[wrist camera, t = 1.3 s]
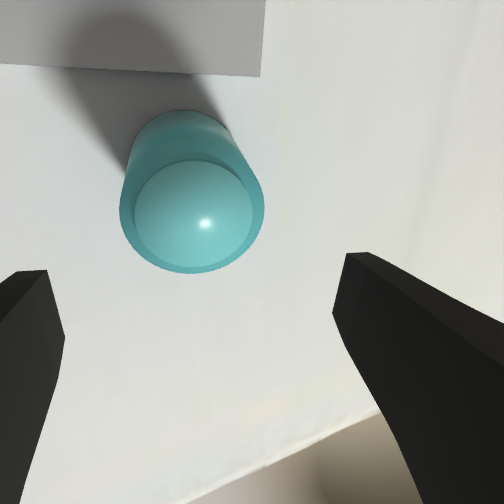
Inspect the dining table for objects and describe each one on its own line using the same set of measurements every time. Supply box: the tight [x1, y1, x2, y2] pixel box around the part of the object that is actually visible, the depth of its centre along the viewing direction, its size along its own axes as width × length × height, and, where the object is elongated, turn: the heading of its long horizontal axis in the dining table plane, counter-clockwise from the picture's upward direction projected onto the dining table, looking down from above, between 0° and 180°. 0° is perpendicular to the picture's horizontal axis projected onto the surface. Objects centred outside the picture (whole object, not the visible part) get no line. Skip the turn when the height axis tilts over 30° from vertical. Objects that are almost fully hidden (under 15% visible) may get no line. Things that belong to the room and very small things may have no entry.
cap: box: [119, 110, 264, 274], centre depth 15 cm, size 5×5×5 cm
